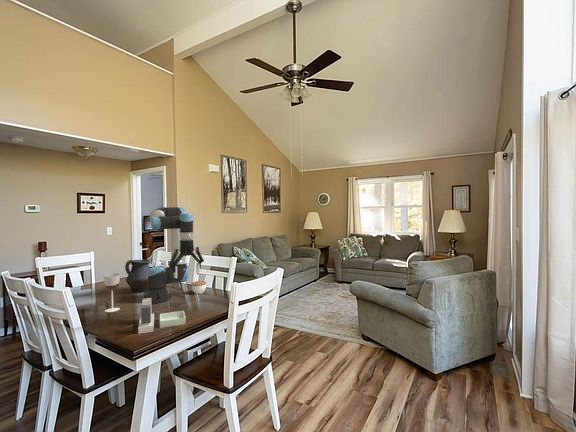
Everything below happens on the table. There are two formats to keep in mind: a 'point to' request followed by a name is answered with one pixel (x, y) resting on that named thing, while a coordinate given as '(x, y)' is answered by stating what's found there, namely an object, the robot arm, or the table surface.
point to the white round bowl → (198, 287)
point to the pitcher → (138, 275)
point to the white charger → (147, 302)
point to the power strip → (146, 326)
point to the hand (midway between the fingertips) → (187, 276)
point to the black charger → (145, 314)
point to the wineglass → (112, 286)
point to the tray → (172, 319)
